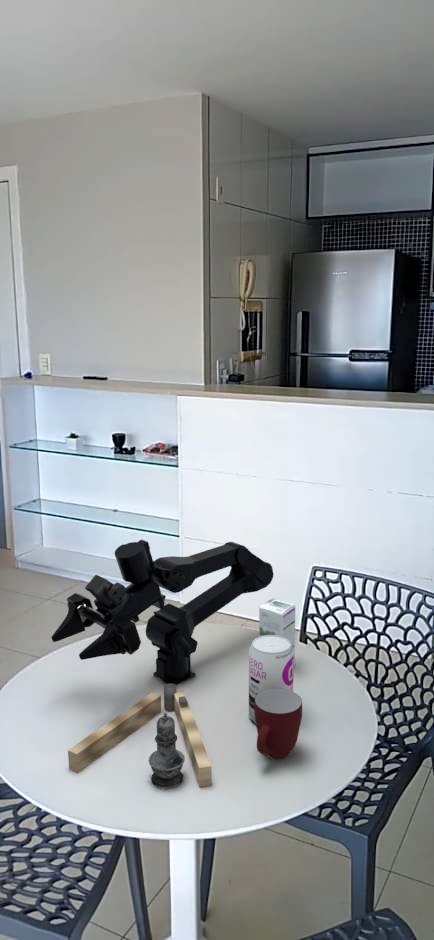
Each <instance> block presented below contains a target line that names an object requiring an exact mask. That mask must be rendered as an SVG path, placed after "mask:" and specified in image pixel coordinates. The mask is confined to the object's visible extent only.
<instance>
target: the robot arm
mask: <svg viewBox="0 0 434 940" xmlns="http://www.w3.org/2000/svg"><path fill="white" fill-rule="evenodd" d="M114 556H115V560H116V563H117V567H118V569H119V571H120V575H121V577H122V578H121V579H122V580H123V581H124V582H126V583H130V584H129V585H127V586H125V585H124V584H122V583H120V582H114V583H113V582H111V581H109V580H108V579H106V578H104V577H102V576H100V575H98V574H95V575H94V576H93V577H92V578H91V579H90V581H89V582H88V583H87V585H85V587H84V589H85V590H86V591H87V592H89V593H90V594H91V595H92V596H93V597H94V598H95V599H94V600H93V604H94V605H95V607H96V608H97V609H96V610H95V609H94V607H93V605H92V601H91V599H90V598H88V597H86V596H85V595H83V594H80V593H77V592H74V593H73V594H72V595H69V596H68V597H67V598H66V601H67V605H66V607H67V608H68V610H67V614H66V616H65V617H64V619H63V621H62V622H61V624H60V625H59V626H58V628H57V629H56V630H55V631H54V633H53V634H52V636H51V640H52V642H53V643H57V642H59V641H62V640H65V639H67V638H70V637H72V636H76V635H78V634H80V633H82V632H85V631H86V628H90V627H92V626H93V625H94V624H96V625H98V626H99V627H102V628H103V632H102V634H101V635H100V636H98V637H97V638H96V639H95V640H94V641H92V642H91V643H90V644H89V645H88V646H86V647H85V648H84V649H83V650H82V651H81V652H80V653H79V654H78V657H79V660H81V661H83V660H89V659H94V658H99V657H105V656H113V655H119V654H121V655H125V654H129V655H131V656H132V655H133V654H134V653H136V651H138V650H139V648H140V646H141V643H142V641H141V638H140V635H139V631H138V629H137V625H136V623H138V622H139V621H140V617H139V615H141V614H142V613H143V612H145V611H146V610H147V609H149V608H151V606H154V607H156V608H157V609H159V610H156V611H153V615H152V616H150V617H149V619H148V620H147V623H146V627H145V636H146V638H147V639H148V640H149V641H150V642H151V645H152V646H154V647H156V648H159V649H157V650H156V654H157V658H155V659H156V660H155V669H156V670H155V671H154V672H153V673H152V675H153V676H154V677H155V678H157V679H159V680H160V681H162V682H163V683H165V684H170V683H171V684H175V685H176V686H177V685H178V684H181V683H183V682H186V681H188V680H190V679H192V678H194V677H196V675H197V674H196V672H194V671H192V670H191V668H192V667H191V661H192V660H191V655H192V654H194V653H196V651H197V647H198V641H197V640H196V639H195V638H193V637H192V636H193V633H194V630H195V628H196V627H197V626H199V625H200V624H201V623H203V622H204V621H206V620H207V619H208V618H210V617H211V616H212V615H214V614H215V613H217V612H218V611H220V610H221V609H223V608H224V607H226V606H227V605H228V604H230V603H231V602H232V601H234V600H235V599H237V598H238V597H240V596H241V595H242V594H243V595H244V594H249V593H254V592H255V593H256V592H259V591H260V590H262V589H265V588H267V587H268V586H269V585H270V584H271V583H272V581H273V578H274V571H273V566H272V564H271V563H270V562H266V561H265V560H262V559H261V558H260V557H259V556H257V555H256V554H254V552H253V553H252V552H251V551H250V550H249V549H248V548H247V547H246V546H245V545H243V544H240V543H237V542H234V541H227V542H226V543H224V544H222V545H219V546H216V547H214V548H211V549H210V548H209V549H207V550H204V551H200V552H197V553H194V554H192V555H191V554H190V555H188V556H165V557H164V556H162V557H159V558H156V559H155V560H153V557H152V553H151V547H150V543H149V542H148V541H147V540H144V539H140V540H139V541H133V542H132V541H131V542H127V543H126V544H121V545H119V546H118V547H117V548H116V549H115V551H114ZM228 567H230V570H229V574H228V575H227V576H226V577H224V578H223V579H222V580H220V581H218V582H217V583H215V584H214V585H212V586H211V587H209V588H208V589H206V590H204V592H201V593H200V594H199V595H197V596H196V597H194V598H193V599H191V600H189V601H188V602H187V603H185V604H184V605H183V606H180V607H179V606H178V607H177V606H176V605H173V604H172V603H167V604H165V600H166V598H167V597H166V595H165V594H162V591H161V588H162V589H164V590H167V591H168V592H171V593H172V594H176V593H180V592H182V591H183V590H186V589H187V588H189V587H191V586H192V585H193V583H194V582H195V580H197V579H198V578H200V577H203V576H205V575H208V574H212V573H215V572H217V571H220V570H223V569H225V568H228Z"/></svg>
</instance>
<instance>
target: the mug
mask: <svg viewBox="0 0 434 940" xmlns="http://www.w3.org/2000/svg"><path fill="white" fill-rule="evenodd" d="M254 713H255V721H256V723H255V726H256V729H257V739H256V749H257V752H258V753H260V754H261V755H264V756H265V755H266V756H268V757H269V758H271V759H273V760H284V759H286V758H288V757H289V756H290V754H291V752H292V751H293V750H294V748H295V746H296V744H297V741H298V738H299V737H298V736H299V733H300V728H301V723H302V718H303V699H302V698H301V696H300V695H299V694H298V693H296V692H294V690H293V691H290V690H287V689H280V688H274V689H267V690H264V691H262V692H260V693H259V694H257V696H256V697H255V704H254Z"/></svg>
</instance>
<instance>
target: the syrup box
mask: <svg viewBox="0 0 434 940" xmlns="http://www.w3.org/2000/svg"><path fill="white" fill-rule="evenodd" d="M258 608H259V609H258V610H259V611H258V613H259V614H258V618H259V619H258V620H259V621H258V622H259V623H258V625H259V627H258V629H259V632H258V633H259V636H258V637H260V636H264V635H277V636H281V637H284V638H286V639H288V640H289V642H290V644H291V646H292V648H293V650H294V667H295V666H296V665H295V664H296V663H295V662H296V651H295V649H296V604H295V603H291V602H287V601H284V600H279V599H276V598H271V599H268V600H267V601H265V602H264V603H262V604H261V606H259V607H258Z"/></svg>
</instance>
